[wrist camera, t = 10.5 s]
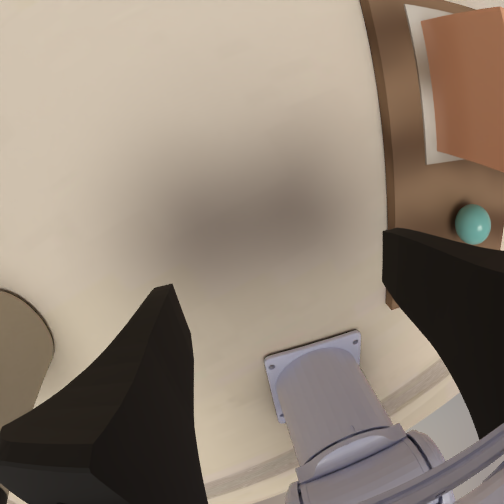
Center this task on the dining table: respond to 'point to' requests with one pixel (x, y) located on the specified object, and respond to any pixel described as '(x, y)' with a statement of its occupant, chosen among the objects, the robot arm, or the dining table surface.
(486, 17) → the terracotta cover
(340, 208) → the dining table surface
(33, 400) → the travel mug
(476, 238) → the teal marble
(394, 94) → the walnut board
